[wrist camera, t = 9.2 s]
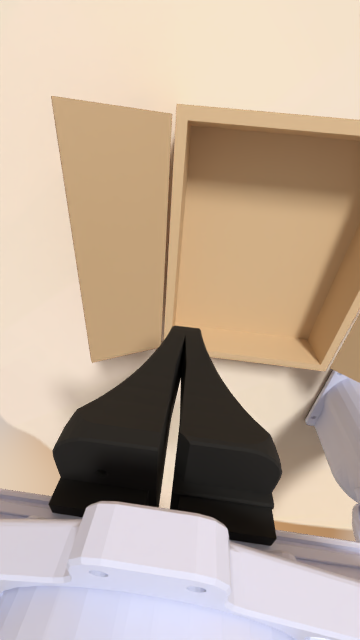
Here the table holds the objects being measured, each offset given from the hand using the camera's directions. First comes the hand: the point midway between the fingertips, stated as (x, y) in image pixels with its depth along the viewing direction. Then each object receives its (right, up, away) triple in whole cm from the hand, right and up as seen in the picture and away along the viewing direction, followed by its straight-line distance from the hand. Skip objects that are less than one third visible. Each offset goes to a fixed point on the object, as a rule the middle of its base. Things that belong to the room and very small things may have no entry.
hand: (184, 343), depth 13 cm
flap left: (-4, +5, +3) cm, 7 cm away
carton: (+6, +7, +7) cm, 12 cm away
